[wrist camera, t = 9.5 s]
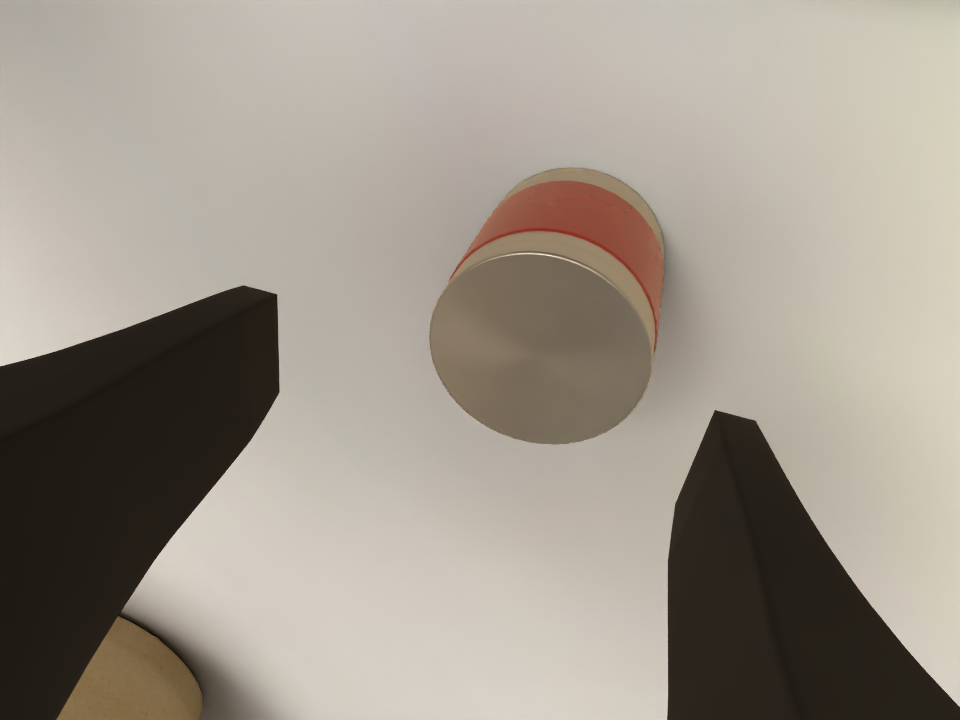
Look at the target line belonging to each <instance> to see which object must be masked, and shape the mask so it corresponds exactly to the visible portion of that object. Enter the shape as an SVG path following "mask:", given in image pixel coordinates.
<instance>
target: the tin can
mask: <svg viewBox="0 0 960 720" xmlns="http://www.w3.org/2000/svg"><path fill="white" fill-rule="evenodd" d="M663 281H664V243H663V237H662V233H661V230H660V227H659V224H658V222H657V220H656V218H655V216H654V214H653V212H652V211H651V209H650V208H649V207H648V205H647V204H646V203H645V201H644V200H643V199H642V198H641V197H640V196H639V195H638V194H637V193H636V192H635V191H633V190H632V189H631V188H630V187H629V186H627V185H625V184H624V183H622V182H621V181H619V180H617V179H615V178H613V177H611V176H609V175H607V174H604V173H600V172H597V171H594V170H588V169H583V168H561V169H554V170H550V171H545V172H543V173H540V174H537V175H534V176H532V177H530V178H528V179H526V180H524V181H523V182H522V183H520V184H519V185H517V186H516V187H515V188H514V189H512V190H511V191H510V192H509V193H508V194H507V195H506V196H505V198H504V199H503V200H502V201H501V203H500V204H499V205H498V207H497V208H496V209H495V210H494V212H493V213H492V214H491V215H490V217H489V218H488V219H487V221H486V223H485V224H484V226H483V227H482V229H481V230H480V232H479V233H478V235H477V236H476V238H475V239H474V241H473V243H472V244H471V246H470V247H469V249H468V250H467V252H466V253H465V255H464V256H463V258H462V259H461V261H460V263H459V264H458V266H457V267H456V269H455V271H454V272H453V274H452V276H451V277H450V280H449V282H448V285H447V286H446V288H445V289H444V291H443V293H442V294H441V296H440V298H439V299H438V301H437V304H436V306H435V309H434V311H433V314H432V319H431V323H430V335H429V338H430V350H431V354H432V359H433V363H434V365H435V368H436V371H437V373H438V375H439V377H440V379H441V381H442V383H443V385H444V386H445V388H446V389H447V391H448V392H449V394H450V395H451V396H452V397H453V399H454V400H455V401H456V402H457V403H458V404H459V405H460V406H461V407H462V408H463V409H464V410H465V411H466V412H467V413H468V414H470V415H471V416H472V417H474V418H475V419H476V420H478V421H479V422H480V423H482V424H484V425H485V426H487V427H489V428H490V429H493V430H495V431H497V432H499V433H501V434H503V435H506V436H509V437H512V438H515V439H518V440H522V441H526V442H532V443H539V444H568V443H574V442H579V441H583V440H587V439H590V438H593V437H596V436H598V435H600V434H602V433H605V432H606V431H608V430H610V429H611V428H613V427H615V426H616V425H618V424H619V423H620V422H621V421H622V420H624V419H625V418H626V417H627V416H628V415H629V414H630V413H631V412H632V411H633V410H634V409H635V407H636V406H637V404H638V403H639V401H640V400H641V398H642V397H643V395H644V392H645V390H646V388H647V386H648V382H649V379H650V375H651V369H652V360H653V356H654V352H655V349H656V343H657V334H658V325H659V317H660V308H661V299H662V290H663Z"/></svg>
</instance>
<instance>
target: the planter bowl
mask: <svg viewBox="0 0 960 720" xmlns="http://www.w3.org/2000/svg"><path fill="white" fill-rule="evenodd" d="M202 707H203V700H202V694H201V691H200V688H199V686H198V683H197V682H196V680H195V678H194V676H193V675H192V673H191V672H190V670H189V669H188V668H187V667H186V665H185V664H184V663H183V662H182V661H181V660H180V658H179V657H177V656H176V655H175V654H174V653H173V652H172V651H171V650H170V649H169V648H168V647H167V646H166V645H165V644H163V643H162V642H161V641H160V640H159V638H157V637H155V636H153V635H151V634H150V633H148V632H147V631H145V630H144V629H142V628H140V627H138V626H137V625H135V624H133V623H132V622H130V621H128V620H126V619H123V618H121V617H119V616H118V617H117V619H116V620H115V622H114V623H113V625H112V627H111V628H110V630H109V632H108V633H107V635H106V636H105V638H104V640H103V641H102V643H101V645H100V646H99V648H98V649H97V651H96V653H95V654H94V656H93V658H92V659H91V661H90V662H89V664H88V666H87V667H86V669H85V671H84V673H83V674H82V676H81V678H80V680H79V681H78V683H77V685H76V687H75V688H74V690H73V692H72V694H71V695H70V697H69V699H68V700H67V702H66V704H65V706H64V707H63V709H62V711H61V713H60V714H59V716H58V718H57V720H199V718H200V715H201V713H202Z"/></svg>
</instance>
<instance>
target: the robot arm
mask: <svg viewBox="0 0 960 720" xmlns="http://www.w3.org/2000/svg"><path fill="white" fill-rule="evenodd" d="M278 394H279V351H278V309H277V294H274V293H270V292H266V291H262V290H259V289H255V288H251V287H247V286H244V285H243V286H240V287H236V288H233V289H230V290H227V291H224V292H221V293H218V294H215V295H212V296H210V297H207V298H204V299H202V300H199V301H196V302H194V303H191V304H188V305H186V306H183V307H181V308H178V309H175V310H173V311H170V312H167V313H165V314H162V315H160V316H157V317H154V318H152V319H149V320H146V321H144V322H141V323H138V324H136V325H133V326H130V327H128V328H125V329H122V330H119V331H116V332H113V333H110V334H107V335H104V336H101V337H98V338H95V339H92V340H89V341H86V342H83V343H80V344H77V345H74V346H71V347H68V348H65V349H62V350H59V351H56V352H52V353H49V354H46V355H42V356H38V357H35V358H31V359H28V360H24V361H20V362H16V363H12V364H8V365H4V366H0V720H57V718H58V716H59V714H60V713H61V711H62V709H63V707H64V706H65V704H66V702H67V700H68V699H69V697H70V695H71V694H72V692H73V690H74V688H75V687H76V685H77V683H78V681H79V680H80V678H81V676H82V674H83V673H84V671H85V669H86V667H87V666H88V664H89V662H90V661H91V659H92V658H93V656H94V654H95V653H96V651H97V649H98V648H99V646H100V645H101V643H102V641H103V640H104V638H105V636H106V635H107V633H108V632H109V630H110V628H111V627H112V625H113V623H114V622H115V620H116V619H117V617H118V615H119V614H120V612H121V611H122V609H123V607H124V606H125V604H126V603H127V601H128V600H129V598H130V597H131V595H132V594H133V592H134V591H135V589H136V588H137V586H138V585H139V583H140V582H141V580H142V578H143V577H144V575H145V574H146V572H147V571H148V569H149V568H150V566H151V565H152V563H153V562H154V560H155V559H156V558H157V556H158V555H159V554H160V552H161V551H162V550H163V548H164V547H165V546H166V544H167V543H168V542H169V540H170V539H171V538H172V536H173V535H174V534H175V533H176V531H177V530H178V529H179V528H180V527H181V525H182V524H183V523H184V522H185V520H186V519H187V518H188V517H189V516H190V514H191V513H192V512H193V511H194V509H195V508H196V507H197V506H198V505H199V503H200V502H201V501H202V500H203V499H204V497H205V496H206V495H207V494H208V492H209V491H210V490H211V489H212V488H213V486H214V485H215V484H216V483H217V482H218V480H219V479H220V478H221V477H222V475H223V474H224V473H225V472H226V470H227V469H228V468H229V467H230V466H231V464H232V463H233V462H234V461H235V459H236V458H237V457H238V456H239V454H240V453H241V452H242V451H243V449H244V448H245V447H246V445H247V444H248V443H249V442H250V440H251V439H252V437H253V436H254V434H255V433H256V431H257V429H258V428H259V426H260V425H261V423H262V421H263V420H264V418H265V416H266V415H267V413H268V411H269V410H270V408H271V406H272V404H273V403H274V401H275V399H276V397H277V396H278ZM667 720H960V707H959V706H958V705H957V704H956V703H955V702H954V701H953V700H952V699H951V698H950V696H949V695H948V694H947V693H946V692H945V691H944V690H943V689H942V688H941V687H940V686H939V685H938V684H937V683H936V682H935V680H934V679H933V678H932V677H931V676H930V675H929V674H928V673H927V672H926V671H925V670H924V668H923V667H922V666H921V665H920V664H919V663H918V662H917V661H916V659H915V658H914V657H913V656H912V655H911V654H910V653H909V651H908V650H907V649H906V648H905V647H904V646H903V644H902V643H901V642H900V641H899V639H898V638H897V637H896V636H895V635H894V633H893V632H892V631H891V630H890V628H889V627H888V626H887V625H886V623H885V622H884V621H883V620H882V618H881V617H880V616H879V615H878V614H877V612H876V611H875V610H874V609H873V607H872V606H871V605H870V604H869V602H868V601H867V600H866V598H865V597H864V596H863V594H862V593H861V592H860V590H859V589H858V588H857V586H856V585H855V584H854V582H853V581H852V579H851V578H850V576H849V575H848V574H847V572H846V571H845V569H844V568H843V566H842V565H841V564H840V562H839V561H838V559H837V558H836V556H835V555H834V553H833V552H832V551H831V549H830V548H829V546H828V545H827V543H826V542H825V540H824V539H823V537H822V535H821V534H820V532H819V531H818V529H817V528H816V526H815V524H814V523H813V521H812V520H811V518H810V516H809V515H808V513H807V511H806V510H805V508H804V506H803V505H802V503H801V501H800V500H799V498H798V496H797V495H796V493H795V491H794V489H793V488H792V486H791V484H790V482H789V480H788V479H787V477H786V475H785V473H784V472H783V470H782V468H781V466H780V464H779V463H778V461H777V459H776V457H775V455H774V453H773V452H772V450H771V448H770V446H769V444H768V442H767V441H766V439H765V437H764V435H763V433H762V432H761V430H760V428H759V426H758V425H757V423H756V421H754V420H750V419H747V418H743V417H739V416H735V415H732V414H728V413H724V412H720V411H716V410H715V411H714V413H713V416H712V418H711V421H710V423H709V425H708V428H707V430H706V432H705V435H704V437H703V440H702V442H701V444H700V447H699V449H698V451H697V454H696V456H695V459H694V461H693V463H692V466H691V468H690V471H689V473H688V475H687V478H686V480H685V482H684V485H683V487H682V490H681V492H680V494H679V497H678V499H677V501H676V504H675V511H674V518H673V525H672V533H671V541H670V549H669V557H668V716H667Z"/></svg>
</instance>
